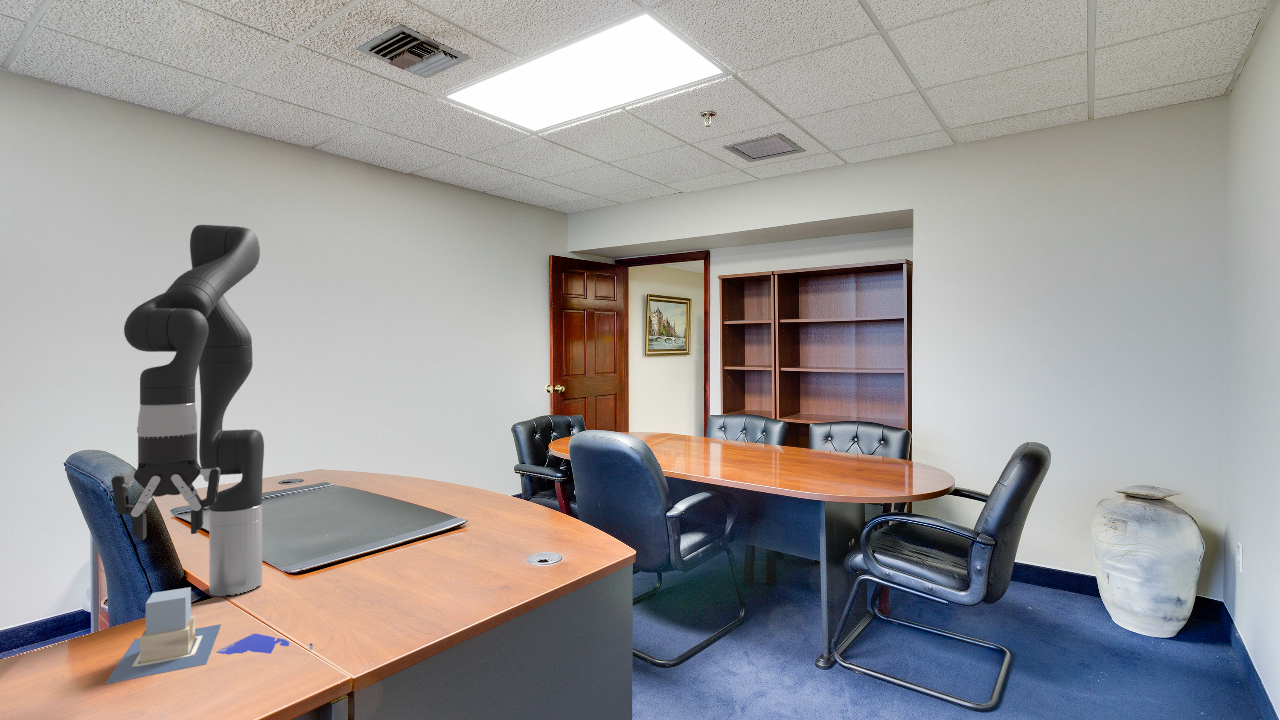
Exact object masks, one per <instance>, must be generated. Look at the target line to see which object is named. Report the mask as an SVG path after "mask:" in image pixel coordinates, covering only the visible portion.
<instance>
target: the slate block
mask: <svg viewBox="0 0 1280 720" xmlns="http://www.w3.org/2000/svg"><path fill="white" fill-rule="evenodd" d="M191 616H192V587H191V586H190V587H184V588H183V587H182V588H177V589H170V590H164V591H156V592H152V593H151V595H150V597H149V598H148V599H147V601H146V602H145V630H146V636H148V635H153V634H159V633H165V632H170V631H176V630H182V629H186V627H187V625H188V622H189V620H190V618H191Z"/></svg>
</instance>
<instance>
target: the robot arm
mask: <svg viewBox="0 0 1280 720" xmlns="http://www.w3.org/2000/svg"><path fill="white" fill-rule="evenodd" d="M189 239H190V240H189V251H190V261H191V269H189V270H187V271H185V272H183V274H181V275H179V276H178V277H177V278H176V279H175V280H174V281H173V283H172V284H171V285H170V286H169V287H168V288H167V289H166V290H165V292H164V293H160V294H158V295H157V296H154V297H152V298H151V299H149V300H146V301H145V302H143V303H142V304H140V305H138V306H137V307H136V308H134V309H133V310H132V311H131V312H130V314H129V315H128V317H127V318H126V319H125V322H124V325H123V326H124V327H123V333H124V337H125V340H126V341H127V343H128V344H129V345H130V346H131V347H132V348H134V349H136V350H137V351H142V352H148V353H158V352H159V353H160V352H161V353H162V352H165V353H168V352H169V353H170V352H171V353H173V352H174V353H175V355H174V357H173V359H172V360H171V361H170V362H169V363H167V364H164V365H157V366H152V367H149V368H146V369H144V370H142V372H141V373H140V378H139V412H138V417H137V418H138V419H137V427H136V433H137V467H136V470H135V472H133V473H127V474H125V473H124V474H123V473H120V474H117V475H115V476H113V477H112V478H111V481H110V482H111V487H112V493H113V494H112V495H113V500H114V506H115V507H114V508H115V512H116V514H118V515H128V516H129V517H131V519H132V521H131V523H132V526H131V527H132V528H131V529H132V536H133V538H137V541H144V540H145V539H146V538H147V531H148V530H147V513H145V511H146V510H147V507H148V505H149V504H150V503H151V501H152V500H153V498H154V497H155V498H158V497H164V496H167V495H169V496H179V495H181V496H182V497H183V499H184V500H185V501H186V502H187V504H188V505H189V506H190V508H191V509H192V510H191V511H190V534H191V535H197V534H198V533H199V530H201V529H202V528H203V525H204V509H206V508H207V507H208V512H209V513H208V518H209V519H208V520H209V521H208V522H209V523H208V526H209V527H208V528H209V529H208V531H209V532H208V533H209V537H208V539H209V541H208V542H209V543H208V545H209V546H208V547H209V550H208V551H209V554H208V555H209V556H208V559H209V560H208V561H209V567H208V568H209V571H208V572H209V573H208V576H209V577H208V580H209V581H208V583H209V584H208V585H209V586H208V587H209V588H208V589H209V591H208V592H209V594H210V595H211V596H215V597H227V596H226V595H231V596H235V594H237V595H241V594H240V593H242V594H244V593H243V592H246V591H249V590H251V589H254V588H255V587H257V586H259V585H260V584H261V583H262V584H263V504H262V503H263V471H264V470H263V469H264V459H265V458H264V457H265V441H264V436H263V434H262V432H261V431H259V430H258V429H232V430H231V429H229V430H228V429H227V430H223V421H224V416H225V413H226V411H227V409H228V406H229V404H230V402H231V401H232V399H233V398H234V396H235V395H236V393H238V391H239V390H240V389H241V387H242V386H243V384H244V383H245V381H246V380H247V378H248V377H249V375H250V374H251V372H252V368H253V343H252V341H253V339H252V336H251V333H250V331H249V329H248V327H247V326H246V324H245V323H244V322H243V321H242V319H241V317H239V316H238V314H237V313H236V312H235V310H234V309H233V308H232V306H231V305H230V304H229V303H228V301H227V299H226V298H225V296H224V295H225V294H226V293H227V292H228V291H229V290H231V288H233V287H234V286H236V285H237V284H238V283H240V282H241V281H242V280H243V279H244V278H246V277H247V276H248V275H249V274H251V273H252V272H253V271H254V270H255V268H256V267H257V265H258V263H259V261H260V256H261V248H260V242H259V239H258V236H257V234H256V233H255V232H254V231H253V230H252V229H250V228H248V227H243V226H238V225H237V226H235V225H233V226H231V225H215V224H198V225H196V226H195V227H193V229H192V231H191V233H190V237H189ZM197 373H199V386H200V420H199V421H200V422H199V423H200V425H199V446H198V414H197V413H198V412H197V408H196V378H197ZM198 447H199V450H198ZM198 452H199V453H198ZM198 454H199V462H198ZM200 475H201V476H202V477H203V480H204V482H206V483H207V490H206V497H205V498H201V497H200V495H199V494H198V490H197V489H196V487H195V486H194V485H193V484H194V482H195V481H196V480H197V478H198V477H199V476H200ZM225 475H229V476H230V475H242V476H241V480H240V481H239V482H238V483H236V484H235V485H233V486H231V487H229V488H225V489H223V490H220V491H219V486H220V479H221V478H220V477H221V476H225ZM134 480H135V482H137V483H138V484H139V485H140V486H141V487H142V488H143V489H144V490H143V492H142V493H141V495H140V496H139V498H138V500H137V502H136V504H135V505H133V504H131V502H130V495H129V488H130V487H131V486H132V485H133V481H134ZM254 590H255V589H254ZM249 592H250V591H249ZM246 593H247V592H246Z"/></svg>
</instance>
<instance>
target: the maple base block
mask: <svg viewBox="0 0 1280 720" xmlns="http://www.w3.org/2000/svg"><path fill="white" fill-rule="evenodd" d="M195 629H196V615H191V618H190V620H189V622H188V625H187V627H186V629H182V630H176V631H170V632H165V633H159V634H153V635H148V636H146V629H145V630H144V632H142V634H141V635H140V637H139V638H140V664H142V663H147V662H152V661H157V660H163V659H168V658H173V657H179V656H184V655H188V654H189V652H190V650H191V648H192V645H193V643H194V641H195Z"/></svg>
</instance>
